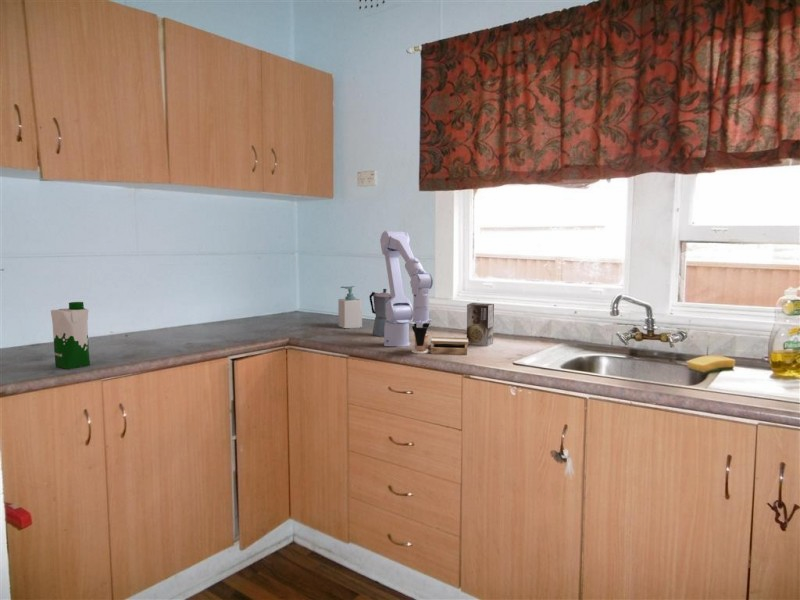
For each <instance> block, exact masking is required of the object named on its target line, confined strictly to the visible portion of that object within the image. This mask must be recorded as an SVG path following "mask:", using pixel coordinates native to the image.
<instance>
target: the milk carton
mask: <svg viewBox="0 0 800 600" xmlns="http://www.w3.org/2000/svg"><path fill="white" fill-rule="evenodd" d="M84 304H85V303H84V301H72V302H71V301H70V302H68V308H58V309H51V310H50V315H51V323H52V335H53V347H54V348H53V350H54V351H53V352H54V361H55V362H54V363H55V367H57V368H61V369H63V368H64V370H71V368H72V369H76V367H77V368H81V367H80V366H83V367H86V366H85V365H88V366H90V365H91V359H90V346H89V331H88V329H89V328H88V319H89V311H90V310H89V309H88V308H84V307H85V306H84Z"/></svg>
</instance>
